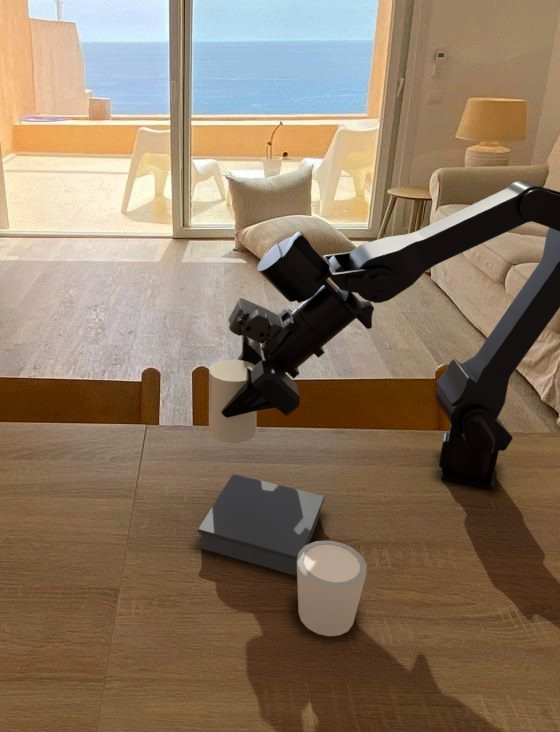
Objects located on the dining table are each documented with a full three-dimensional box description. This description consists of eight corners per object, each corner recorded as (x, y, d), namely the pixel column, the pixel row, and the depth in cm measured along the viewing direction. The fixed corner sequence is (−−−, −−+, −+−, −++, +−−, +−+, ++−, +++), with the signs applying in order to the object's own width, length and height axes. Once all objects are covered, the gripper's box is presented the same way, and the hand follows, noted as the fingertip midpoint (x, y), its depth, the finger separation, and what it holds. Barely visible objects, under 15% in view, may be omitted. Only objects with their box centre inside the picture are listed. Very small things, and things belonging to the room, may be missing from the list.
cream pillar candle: (266, 430, 93) (269, 370, 89) (233, 448, 89) (234, 386, 85) (231, 413, 97) (233, 355, 94) (198, 429, 94) (198, 369, 90)
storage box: (322, 515, 87) (324, 495, 85) (298, 578, 77) (299, 557, 75) (232, 492, 91) (232, 473, 90) (197, 549, 81) (197, 529, 80)
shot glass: (355, 592, 75) (361, 541, 72) (364, 643, 68) (372, 589, 66) (290, 588, 75) (294, 537, 72) (294, 638, 69) (298, 584, 66)
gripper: (262, 258, 93) (181, 334, 98) (276, 309, 76) (176, 397, 81) (317, 313, 96) (235, 384, 101) (342, 374, 79) (242, 455, 84)
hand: (222, 402), depth 92 cm, fingers closed on cream pillar candle, 6 cm apart
